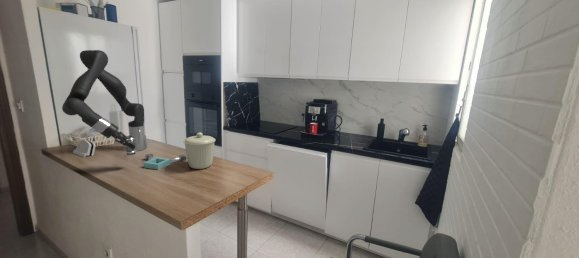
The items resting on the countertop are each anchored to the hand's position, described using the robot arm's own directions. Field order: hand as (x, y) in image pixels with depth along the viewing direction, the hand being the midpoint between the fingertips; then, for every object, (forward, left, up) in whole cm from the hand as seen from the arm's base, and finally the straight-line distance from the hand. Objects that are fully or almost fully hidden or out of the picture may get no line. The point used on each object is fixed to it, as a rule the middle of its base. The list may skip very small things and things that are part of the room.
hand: (134, 146), depth 136 cm
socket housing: (-7, +9, -13) cm, 17 cm away
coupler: (+1, -1, -4) cm, 5 cm away
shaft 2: (-16, +14, -13) cm, 25 cm away
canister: (-15, +33, -13) cm, 38 cm away
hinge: (-9, -50, -13) cm, 52 cm away
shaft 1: (-12, -1, -13) cm, 17 cm away
